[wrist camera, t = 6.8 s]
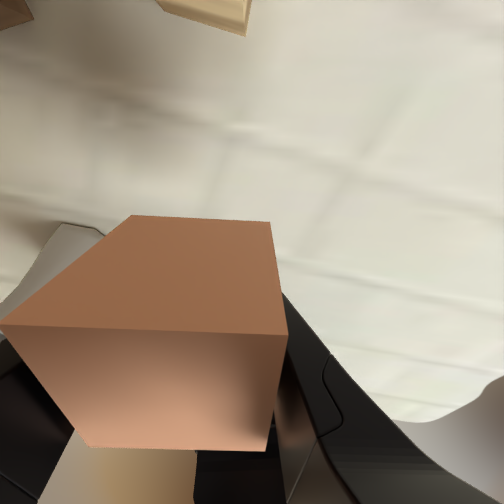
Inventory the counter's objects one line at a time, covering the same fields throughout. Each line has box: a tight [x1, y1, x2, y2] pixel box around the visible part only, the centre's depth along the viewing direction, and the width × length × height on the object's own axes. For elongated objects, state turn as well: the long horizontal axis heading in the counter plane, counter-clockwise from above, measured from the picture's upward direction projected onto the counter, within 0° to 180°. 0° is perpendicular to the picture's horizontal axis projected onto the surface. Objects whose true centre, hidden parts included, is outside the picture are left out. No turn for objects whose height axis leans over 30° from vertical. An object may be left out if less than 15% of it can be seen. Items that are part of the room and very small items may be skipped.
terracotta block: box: [0, 215, 289, 451], centre depth 7 cm, size 5×5×5 cm
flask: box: [0, 223, 105, 342], centre depth 18 cm, size 7×7×10 cm
